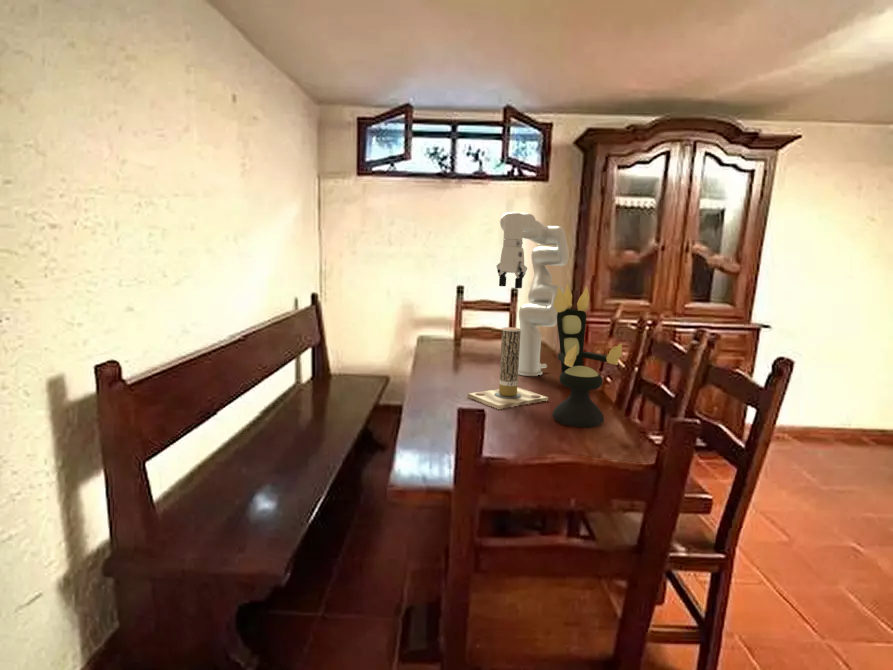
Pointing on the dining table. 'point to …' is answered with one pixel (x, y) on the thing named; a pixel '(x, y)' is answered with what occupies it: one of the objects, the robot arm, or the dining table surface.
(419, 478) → the dining table surface
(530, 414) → the dining table surface
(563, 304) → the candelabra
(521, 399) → the board
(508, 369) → the paper tube
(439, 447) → the dining table surface
